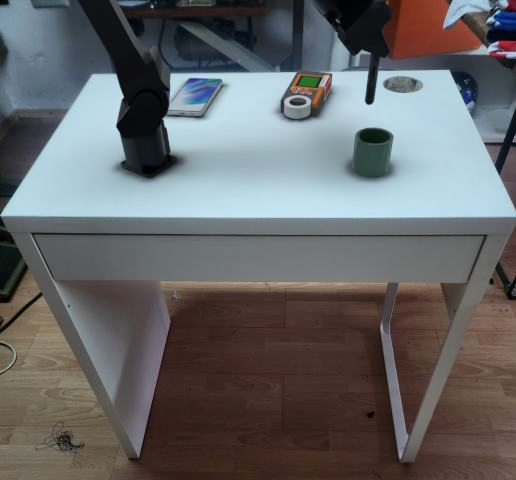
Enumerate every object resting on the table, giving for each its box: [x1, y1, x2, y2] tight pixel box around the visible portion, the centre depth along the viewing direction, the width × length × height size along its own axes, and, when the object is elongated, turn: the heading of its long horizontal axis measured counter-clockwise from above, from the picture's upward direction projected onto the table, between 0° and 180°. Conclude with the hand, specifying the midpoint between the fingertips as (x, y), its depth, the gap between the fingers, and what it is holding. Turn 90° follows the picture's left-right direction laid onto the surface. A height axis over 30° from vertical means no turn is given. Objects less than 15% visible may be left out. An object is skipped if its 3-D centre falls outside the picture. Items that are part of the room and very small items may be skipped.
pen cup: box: [351, 126, 395, 178], centre depth 74 cm, size 5×5×5 cm
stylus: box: [364, 0, 389, 106], centre depth 71 cm, size 2×2×14 cm
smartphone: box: [166, 77, 224, 117], centre depth 94 cm, size 7×1×15 cm
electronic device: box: [280, 69, 333, 120], centre depth 91 cm, size 7×3×15 cm
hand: (385, 53), depth 71 cm, fingers closed on stylus, 1 cm apart
